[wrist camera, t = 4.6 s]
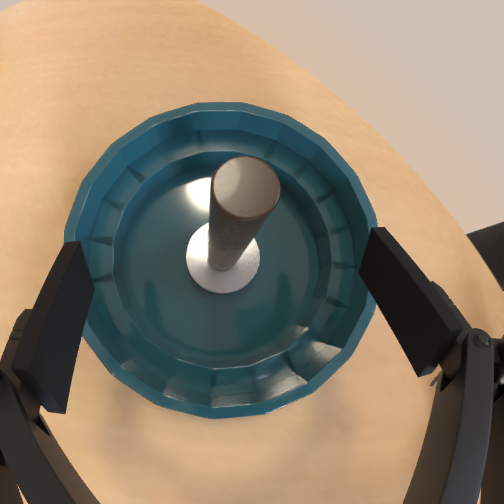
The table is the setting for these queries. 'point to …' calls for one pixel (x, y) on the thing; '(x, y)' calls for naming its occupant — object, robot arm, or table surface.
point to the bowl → (229, 305)
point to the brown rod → (233, 225)
